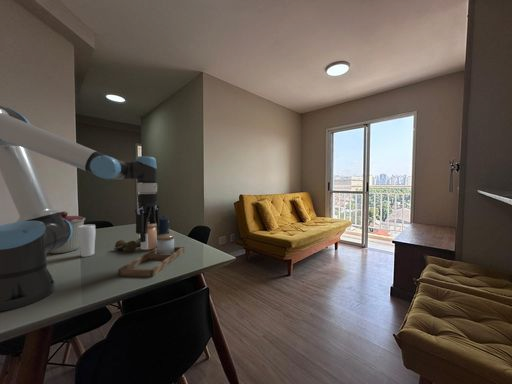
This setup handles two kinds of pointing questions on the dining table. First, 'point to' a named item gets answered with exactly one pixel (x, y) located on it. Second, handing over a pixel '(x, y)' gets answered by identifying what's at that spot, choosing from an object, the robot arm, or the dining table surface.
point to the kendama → (127, 245)
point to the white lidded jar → (165, 244)
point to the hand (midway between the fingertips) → (149, 246)
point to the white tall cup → (86, 239)
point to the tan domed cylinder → (151, 235)
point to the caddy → (150, 255)
